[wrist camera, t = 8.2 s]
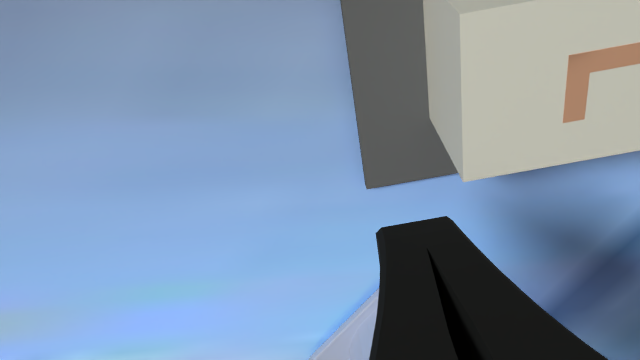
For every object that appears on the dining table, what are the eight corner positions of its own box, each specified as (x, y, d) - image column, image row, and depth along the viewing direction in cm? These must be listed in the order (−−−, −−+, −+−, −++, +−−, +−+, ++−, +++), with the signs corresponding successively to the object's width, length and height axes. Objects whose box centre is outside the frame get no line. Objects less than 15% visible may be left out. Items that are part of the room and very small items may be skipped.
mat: (821, -198, 16) (833, -198, 16) (734, 117, 22) (741, 122, 22) (326, -106, 16) (327, -104, 16) (365, 183, 22) (366, 189, 22)
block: (421, -29, 17) (687, -78, 17) (429, 117, 20) (658, 76, 20) (459, 14, 14) (789, -47, 14) (463, 182, 17) (737, 133, 17)
